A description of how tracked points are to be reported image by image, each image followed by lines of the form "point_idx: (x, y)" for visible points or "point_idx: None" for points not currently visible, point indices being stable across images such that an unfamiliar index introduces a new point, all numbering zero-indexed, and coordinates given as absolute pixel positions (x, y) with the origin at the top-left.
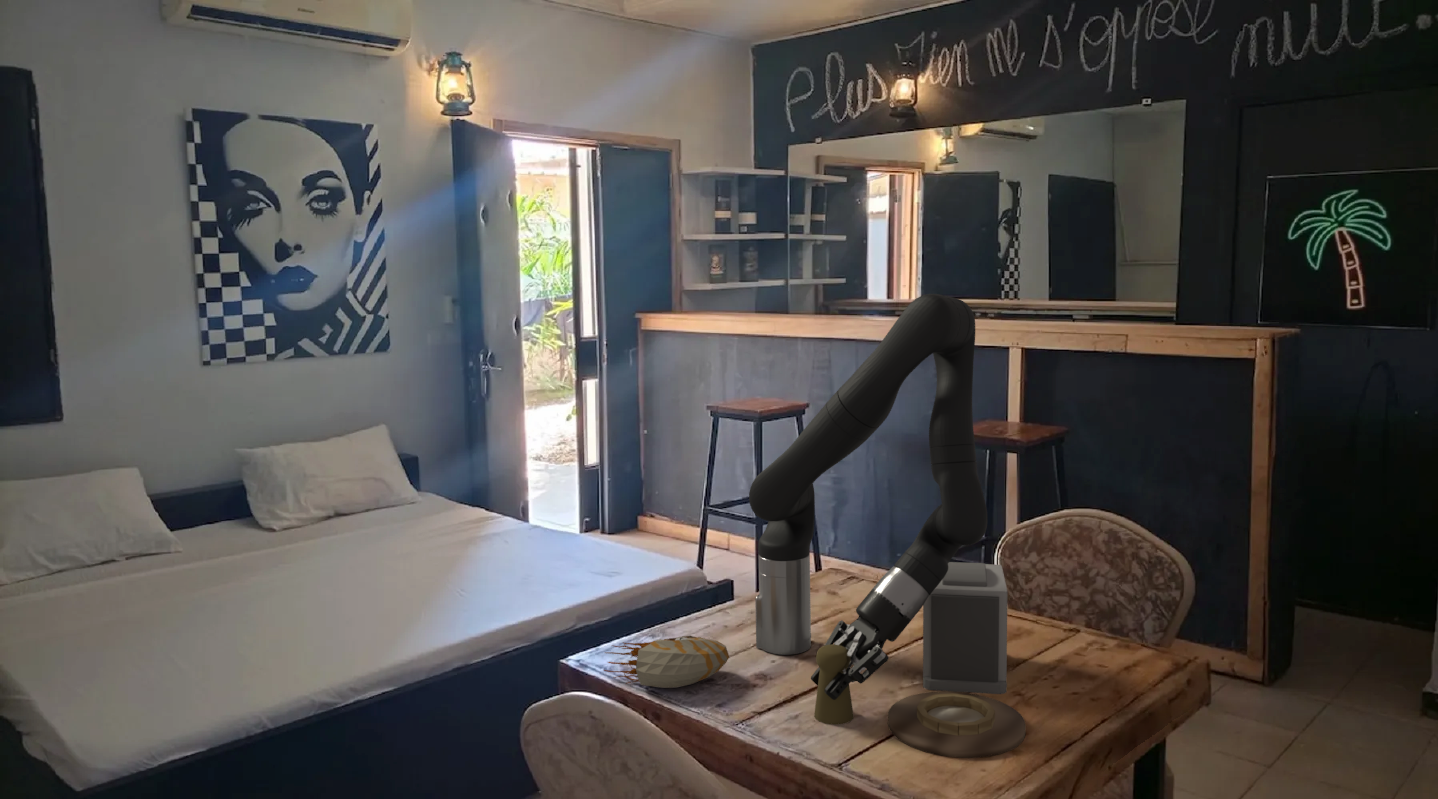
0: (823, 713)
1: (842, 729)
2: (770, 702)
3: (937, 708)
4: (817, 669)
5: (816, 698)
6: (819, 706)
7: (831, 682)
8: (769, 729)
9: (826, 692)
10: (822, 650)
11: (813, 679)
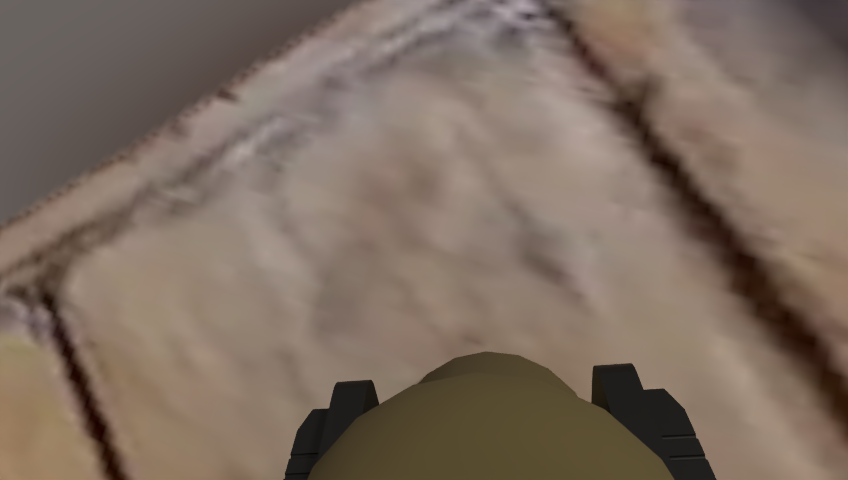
0: (429, 378)
1: None
2: (748, 188)
3: None
4: (652, 431)
5: (514, 368)
6: (456, 366)
7: None
8: (441, 112)
9: (336, 383)
10: (461, 457)
11: (594, 373)
